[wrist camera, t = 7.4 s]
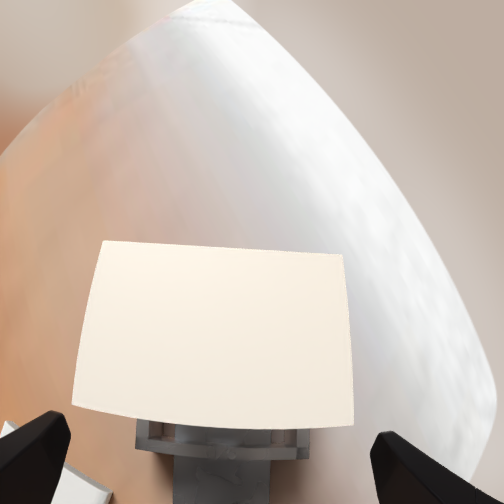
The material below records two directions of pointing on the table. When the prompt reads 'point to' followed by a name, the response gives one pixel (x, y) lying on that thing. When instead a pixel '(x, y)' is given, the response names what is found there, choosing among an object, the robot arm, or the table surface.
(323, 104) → the table surface
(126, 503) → the table surface
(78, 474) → the external hard drive
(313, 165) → the table surface
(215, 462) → the grey tray with tab
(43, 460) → the robot arm
